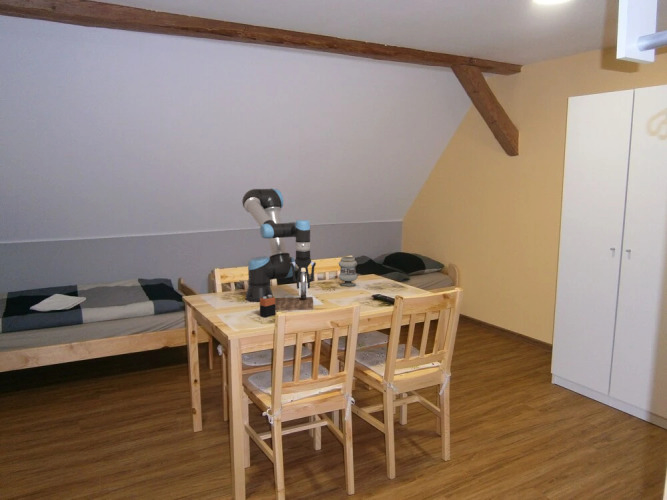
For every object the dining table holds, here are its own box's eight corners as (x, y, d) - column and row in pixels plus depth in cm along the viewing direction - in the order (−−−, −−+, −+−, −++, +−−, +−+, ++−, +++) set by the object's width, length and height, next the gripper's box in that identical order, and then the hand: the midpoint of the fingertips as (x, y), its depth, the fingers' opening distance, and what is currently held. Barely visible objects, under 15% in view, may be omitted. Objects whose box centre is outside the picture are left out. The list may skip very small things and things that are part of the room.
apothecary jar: (335, 284, 317) (335, 256, 315) (351, 282, 323) (351, 255, 320) (344, 288, 307) (344, 259, 304) (361, 286, 312) (361, 258, 310)
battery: (275, 315, 246) (275, 295, 244) (265, 317, 241) (265, 297, 239) (269, 313, 249) (269, 294, 247) (259, 316, 243) (259, 296, 242)
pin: (300, 299, 257) (300, 272, 256) (300, 297, 260) (300, 271, 259) (306, 298, 258) (306, 272, 256) (306, 297, 261) (306, 271, 259)
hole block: (266, 310, 254) (266, 302, 253) (267, 306, 263) (267, 297, 262) (313, 309, 256) (313, 301, 255) (312, 305, 265) (312, 297, 264)
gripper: (287, 251, 251) (288, 296, 254) (318, 250, 253) (319, 295, 256) (287, 249, 259) (288, 293, 262) (318, 248, 260) (318, 292, 263)
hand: (303, 294), depth 259 cm, fingers closed on pin, 3 cm apart
